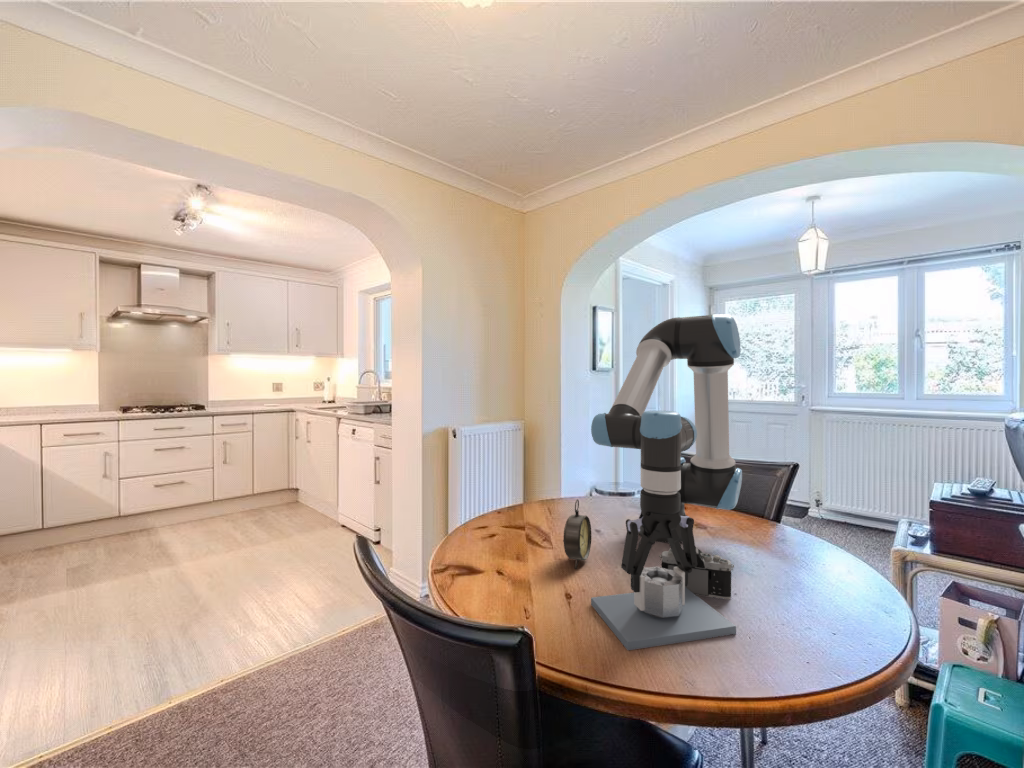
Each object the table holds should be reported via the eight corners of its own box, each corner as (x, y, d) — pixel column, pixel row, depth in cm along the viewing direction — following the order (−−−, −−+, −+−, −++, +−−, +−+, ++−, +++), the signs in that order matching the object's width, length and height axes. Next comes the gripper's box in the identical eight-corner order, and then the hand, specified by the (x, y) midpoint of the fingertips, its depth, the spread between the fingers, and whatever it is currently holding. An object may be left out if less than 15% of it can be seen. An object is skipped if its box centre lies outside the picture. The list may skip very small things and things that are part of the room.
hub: (666, 594, 93) (666, 565, 93) (689, 614, 85) (690, 582, 85) (631, 598, 91) (631, 569, 91) (651, 619, 83) (652, 587, 83)
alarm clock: (580, 572, 109) (581, 506, 109) (559, 568, 111) (559, 503, 111) (592, 555, 119) (592, 495, 119) (573, 552, 121) (573, 492, 121)
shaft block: (684, 593, 99) (684, 559, 98) (736, 634, 83) (736, 593, 83) (591, 604, 94) (591, 569, 93) (627, 650, 78) (627, 607, 78)
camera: (731, 585, 102) (731, 542, 102) (735, 604, 94) (735, 557, 94) (660, 574, 108) (660, 533, 108) (658, 591, 100) (658, 546, 99)
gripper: (694, 482, 94) (694, 589, 94) (602, 488, 89) (602, 601, 90) (719, 491, 86) (718, 608, 87) (620, 498, 82) (619, 621, 82)
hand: (659, 604), depth 88 cm, fingers closed on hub, 8 cm apart
